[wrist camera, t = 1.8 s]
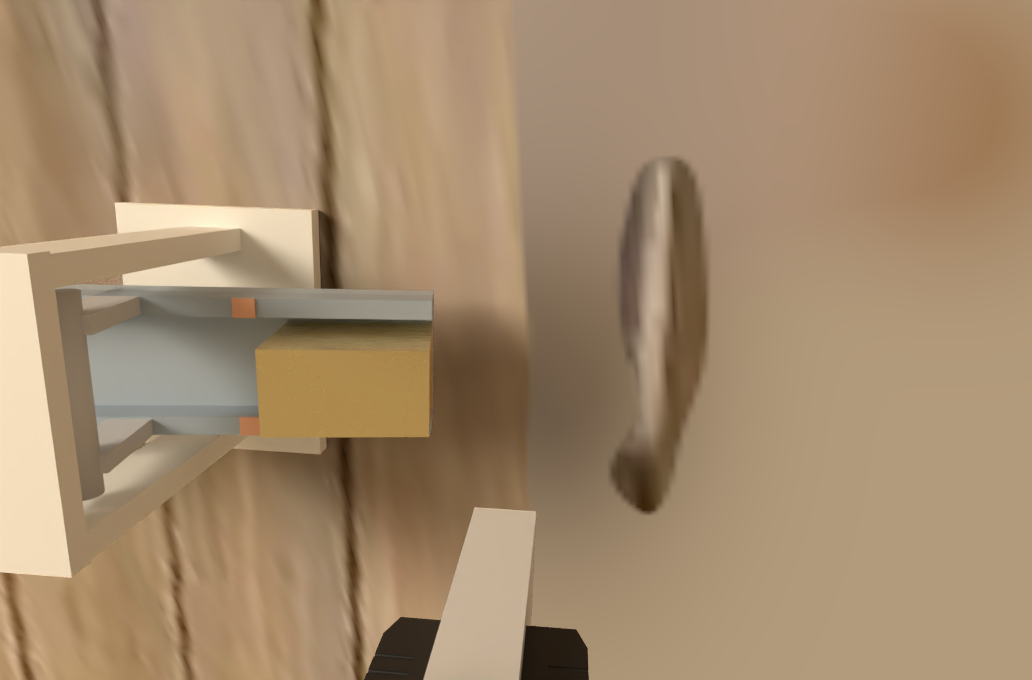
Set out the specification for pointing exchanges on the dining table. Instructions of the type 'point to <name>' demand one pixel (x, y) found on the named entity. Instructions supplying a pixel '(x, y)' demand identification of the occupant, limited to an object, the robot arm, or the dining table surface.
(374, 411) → the block
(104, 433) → the beam
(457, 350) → the dining table surface
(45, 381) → the stand
